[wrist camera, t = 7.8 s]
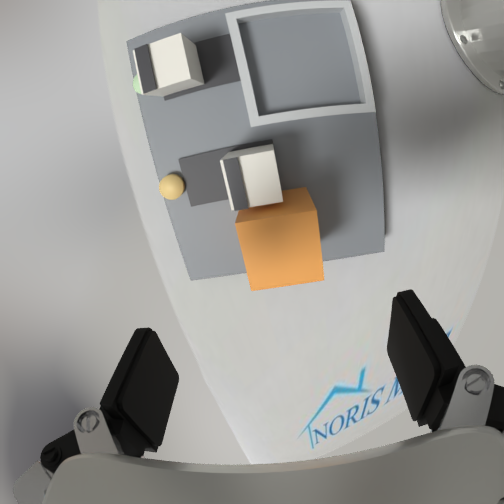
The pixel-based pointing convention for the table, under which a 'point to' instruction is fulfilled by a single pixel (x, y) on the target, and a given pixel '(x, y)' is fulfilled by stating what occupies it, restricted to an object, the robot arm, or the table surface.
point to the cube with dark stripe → (251, 177)
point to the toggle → (168, 66)
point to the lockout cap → (281, 241)
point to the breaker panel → (269, 126)
